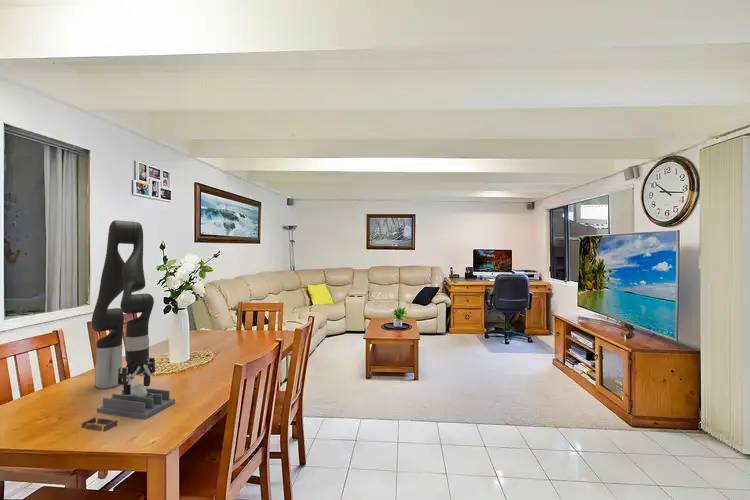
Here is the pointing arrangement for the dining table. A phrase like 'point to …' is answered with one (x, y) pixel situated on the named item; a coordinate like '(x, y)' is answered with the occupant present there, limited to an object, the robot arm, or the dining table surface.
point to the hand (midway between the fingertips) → (137, 390)
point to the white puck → (138, 391)
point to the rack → (137, 404)
